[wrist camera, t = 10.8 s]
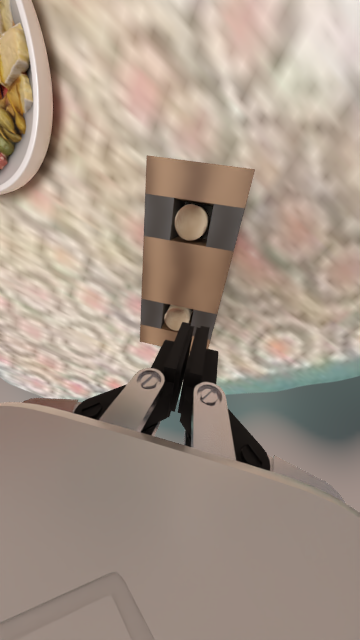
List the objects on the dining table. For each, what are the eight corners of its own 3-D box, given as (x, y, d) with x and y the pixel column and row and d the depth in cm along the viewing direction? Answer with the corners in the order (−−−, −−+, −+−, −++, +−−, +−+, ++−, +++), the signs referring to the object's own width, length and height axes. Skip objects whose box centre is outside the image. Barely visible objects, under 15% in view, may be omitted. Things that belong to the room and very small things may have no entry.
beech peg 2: (196, 293, 36) (190, 311, 30) (193, 312, 38) (186, 333, 32) (175, 289, 37) (165, 306, 30) (173, 308, 39) (163, 327, 32)
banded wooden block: (246, 180, 27) (254, 169, 20) (208, 332, 40) (206, 356, 33) (165, 169, 29) (146, 155, 22) (153, 320, 41) (139, 341, 35)
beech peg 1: (212, 208, 29) (209, 207, 23) (207, 237, 31) (203, 242, 25) (187, 205, 30) (176, 202, 23) (183, 232, 32) (172, 237, 25)
